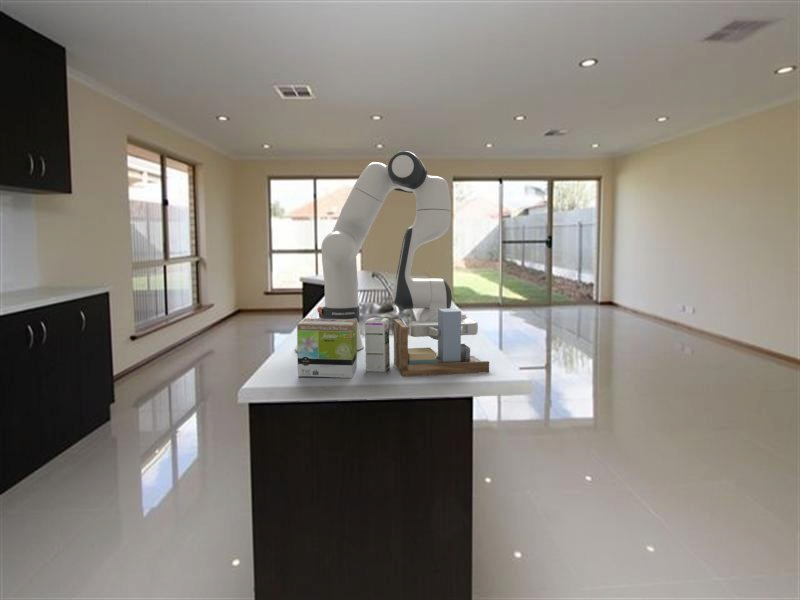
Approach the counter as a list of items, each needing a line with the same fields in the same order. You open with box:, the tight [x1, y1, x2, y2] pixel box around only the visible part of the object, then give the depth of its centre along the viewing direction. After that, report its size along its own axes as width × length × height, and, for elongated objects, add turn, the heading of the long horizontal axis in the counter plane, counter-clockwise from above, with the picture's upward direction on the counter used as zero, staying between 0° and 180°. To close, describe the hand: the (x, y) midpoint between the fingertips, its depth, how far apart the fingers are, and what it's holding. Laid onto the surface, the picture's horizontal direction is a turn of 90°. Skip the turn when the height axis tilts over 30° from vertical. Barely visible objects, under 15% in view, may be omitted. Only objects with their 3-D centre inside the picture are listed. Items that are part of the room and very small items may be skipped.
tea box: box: [296, 317, 358, 379], centre depth 147 cm, size 15×10×15 cm
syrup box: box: [364, 317, 391, 373], centre depth 151 cm, size 6×6×14 cm
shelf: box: [393, 318, 490, 377], centre depth 152 cm, size 14×24×14 cm, turn 100°
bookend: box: [461, 343, 481, 362], centre depth 153 cm, size 6×5×5 cm
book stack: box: [408, 347, 438, 364], centre depth 152 cm, size 8×8×4 cm
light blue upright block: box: [437, 307, 462, 362], centre depth 151 cm, size 5×6×14 cm
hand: (449, 333), depth 151 cm, fingers closed on light blue upright block, 5 cm apart
